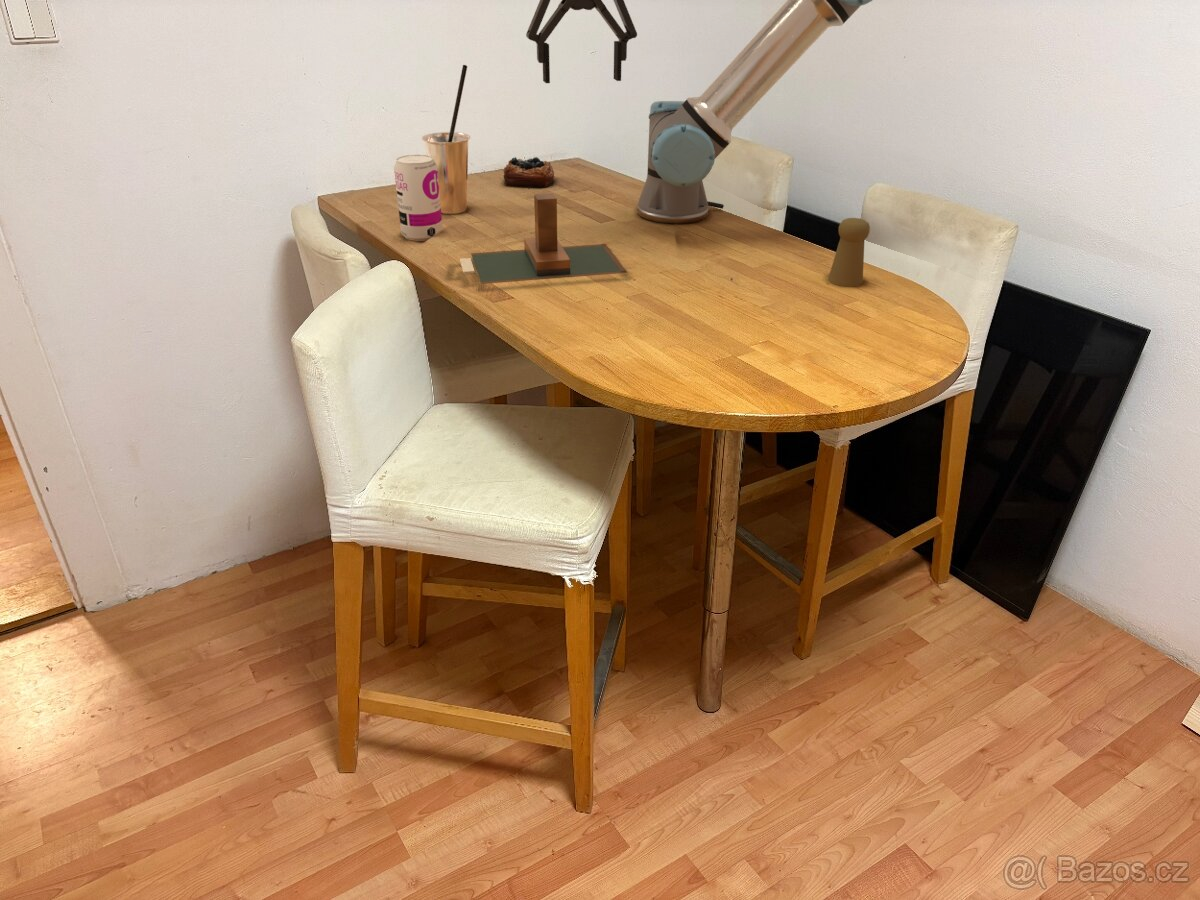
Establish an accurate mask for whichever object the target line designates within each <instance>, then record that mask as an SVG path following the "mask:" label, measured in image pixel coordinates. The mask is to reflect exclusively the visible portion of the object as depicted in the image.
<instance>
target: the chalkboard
mask: <svg viewBox="0 0 1200 900" xmlns="http://www.w3.org/2000/svg"><path fill="white" fill-rule="evenodd" d="M562 247H563V249H564V251H565V252H566V254H567V255H568V257H569V259H570V274H557V275H544V276H537V275H536V273H535V271H534V269H533V267H532V265H531V263H530V261H529V259H528V257H527V255H526V253H525V249H513V250H499V251H485V252H470V254H471V259H472V261H473V265H474V266H475V269H476V272H477V275H478V278H479V281H480V283H481V285H486V284H498V283H499V284H500V283H512V282H525V281H538V280H550V279H551V280H552V279H563V278H576V277H589V276H590V277H591V276H601V275H602V276H603V275H616V274H627V273H628V271H627V269H626V268H625V267H624V265H623V264H622V263H621V262H620V260H618V258H617V256H616V255H615V254H614V253H613V251H612V250H611V249H610V248H609V246H608V245H607V244H606V243H601V244H586V245H571V246H569V245H568V246H562Z"/></svg>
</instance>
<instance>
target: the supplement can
mask: <svg viewBox="0 0 1200 900" xmlns="http://www.w3.org/2000/svg"><path fill="white" fill-rule="evenodd" d="M395 160H396V161H395V164H394V166H393V172H394V180H395V190H396V199H397V207H398V216H399V225H400V233H401V235H402V236H403V237H404V238H405V239H406V240H408V241H413V242H427V241H429V240H430V239H432V238H433V237H434V236H436V235H437V234H440V233H441V232H442V231H443V230H444V228H443V219H442V218H443V217H442V213H441V205H440V193H439V181H438V170H437V165H436V163H435V162H434V160H433V157H431V156H427V154H406V155H401V156H399V157H397V158H396V159H395Z"/></svg>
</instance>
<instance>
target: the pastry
mask: <svg viewBox="0 0 1200 900" xmlns="http://www.w3.org/2000/svg"><path fill="white" fill-rule="evenodd" d="M554 178H555V171H554V169H553V166H552V165H551V161H547V160H540V158H539V157H537V156H535V157H532V158H528V159H525V160H524V159H521V158H518V157H516V156H514V157H512V158H511V159H510V160H508V164H506V166H504V168H503V180H504V186H507V187H514V188H529V189H530V188H531V189H532V188H533V189H543V188H548V187H550V186H552V185H553V184H554V183H555V182H554V181H555V180H554Z"/></svg>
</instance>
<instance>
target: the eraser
mask: <svg viewBox="0 0 1200 900" xmlns="http://www.w3.org/2000/svg"><path fill="white" fill-rule="evenodd" d="M533 195H534V196H533V197H534V233H535V234H534V235H535V236H534V237H528V238H524V240H523V241H524V243H523V244H524V245H523V246H524V250H525V253H526V255H527V257H528V259H529V261H530V263H531V265H532V267H533V269H534V271H535V273H536V275H537V276H544V275H557V274H570V259H569V257H568V255H567V254H566V252H565V251H564V249H563V247H564V246H562V244H561V243H560V241H559V239H558V198H557V197H556V195H555V194H554V193H537V194H533Z"/></svg>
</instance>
